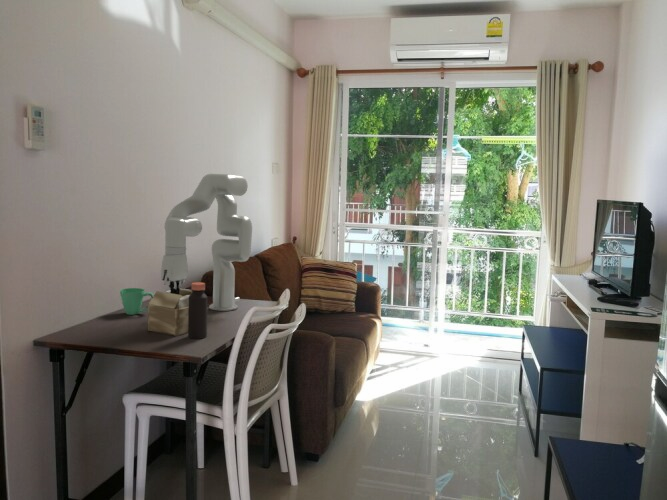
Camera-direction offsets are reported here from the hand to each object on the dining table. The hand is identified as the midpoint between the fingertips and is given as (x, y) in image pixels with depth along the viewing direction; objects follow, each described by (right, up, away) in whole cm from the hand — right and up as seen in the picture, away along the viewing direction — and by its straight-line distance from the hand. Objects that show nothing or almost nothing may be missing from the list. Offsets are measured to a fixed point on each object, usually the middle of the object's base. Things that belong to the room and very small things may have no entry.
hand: (174, 298), depth 213 cm
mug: (-23, -9, +24) cm, 34 cm away
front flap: (-2, 0, -4) cm, 5 cm away
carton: (0, -12, +2) cm, 12 cm away
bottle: (+10, -14, -7) cm, 18 cm away
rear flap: (+3, +1, +7) cm, 7 cm away
